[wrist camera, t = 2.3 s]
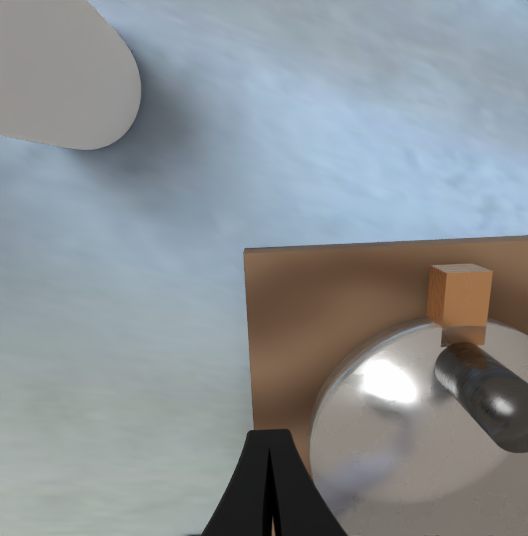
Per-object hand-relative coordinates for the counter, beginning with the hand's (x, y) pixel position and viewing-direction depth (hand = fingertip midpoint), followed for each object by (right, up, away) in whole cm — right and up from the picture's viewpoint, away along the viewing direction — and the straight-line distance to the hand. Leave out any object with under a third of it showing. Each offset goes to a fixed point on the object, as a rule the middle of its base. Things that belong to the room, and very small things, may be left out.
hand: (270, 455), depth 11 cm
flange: (+9, -2, +7) cm, 12 cm away
